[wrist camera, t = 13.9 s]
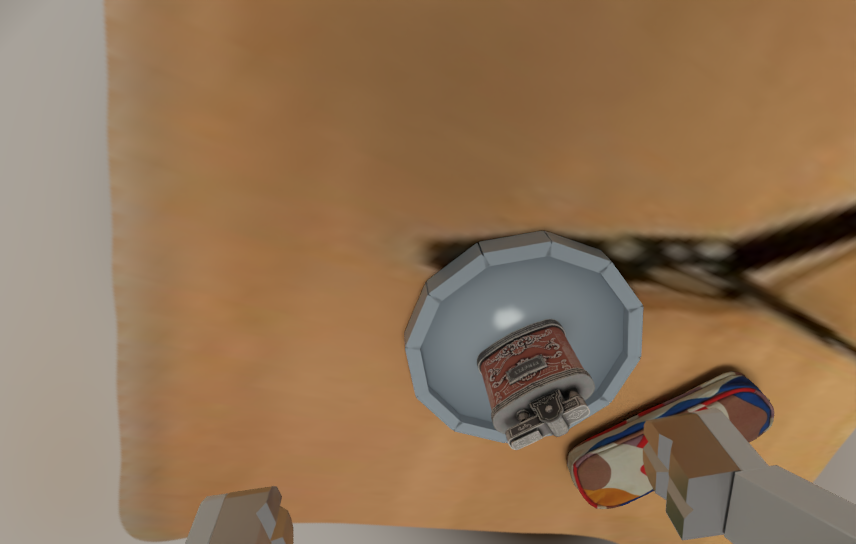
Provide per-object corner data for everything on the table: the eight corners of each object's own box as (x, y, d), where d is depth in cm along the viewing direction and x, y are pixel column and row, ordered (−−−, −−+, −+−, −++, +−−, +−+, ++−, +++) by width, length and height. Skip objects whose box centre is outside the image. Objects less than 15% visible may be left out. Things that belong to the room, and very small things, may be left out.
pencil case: (551, 410, 49) (568, 449, 45) (751, 353, 48) (788, 388, 43) (570, 484, 54) (587, 526, 50) (751, 434, 53) (785, 472, 48)
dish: (633, 214, 40) (646, 224, 38) (628, 404, 49) (638, 420, 47) (387, 258, 40) (387, 270, 38) (427, 439, 49) (429, 456, 47)
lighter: (553, 310, 42) (598, 388, 33) (568, 339, 44) (615, 420, 35) (469, 353, 44) (491, 439, 35) (487, 379, 45) (512, 468, 36)
